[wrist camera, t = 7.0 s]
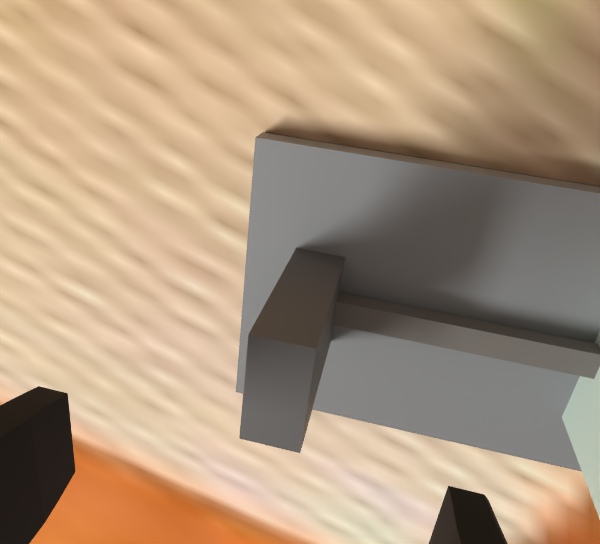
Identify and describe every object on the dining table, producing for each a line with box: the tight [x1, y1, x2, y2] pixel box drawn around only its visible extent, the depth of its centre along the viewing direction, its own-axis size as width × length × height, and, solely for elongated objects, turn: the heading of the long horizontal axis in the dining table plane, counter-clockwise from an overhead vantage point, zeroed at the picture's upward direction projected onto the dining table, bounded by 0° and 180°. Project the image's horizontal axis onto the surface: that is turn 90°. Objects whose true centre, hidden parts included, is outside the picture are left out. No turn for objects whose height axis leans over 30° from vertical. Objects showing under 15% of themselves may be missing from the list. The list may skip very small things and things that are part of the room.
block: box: [240, 248, 600, 519], centre depth 13 cm, size 5×14×5 cm, turn 83°
